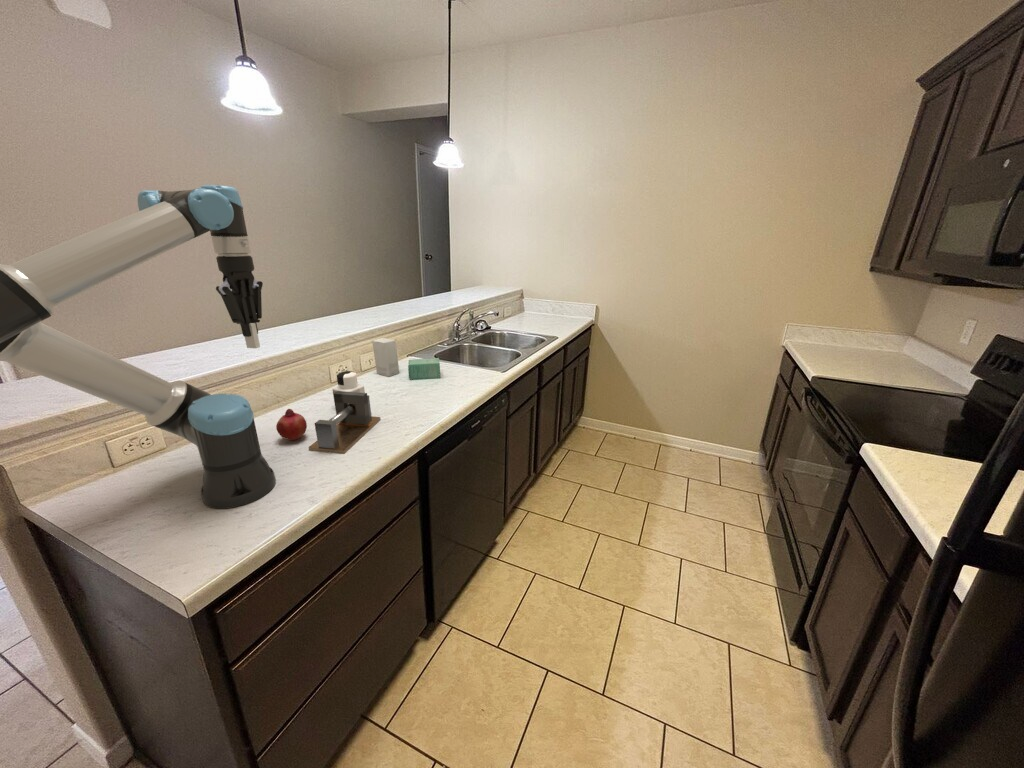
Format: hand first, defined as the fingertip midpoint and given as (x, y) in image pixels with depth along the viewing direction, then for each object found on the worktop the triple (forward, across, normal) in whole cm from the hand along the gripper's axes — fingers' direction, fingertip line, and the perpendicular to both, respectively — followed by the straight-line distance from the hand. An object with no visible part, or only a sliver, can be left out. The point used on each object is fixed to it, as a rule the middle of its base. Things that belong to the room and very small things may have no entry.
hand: (253, 347), depth 110 cm
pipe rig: (+30, +12, -16) cm, 36 cm away
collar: (+28, +16, -16) cm, 36 cm away
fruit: (+31, +6, -2) cm, 31 cm away
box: (+31, +68, -21) cm, 78 cm away
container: (+31, +32, -6) cm, 45 cm away
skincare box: (+31, +69, -3) cm, 76 cm away
